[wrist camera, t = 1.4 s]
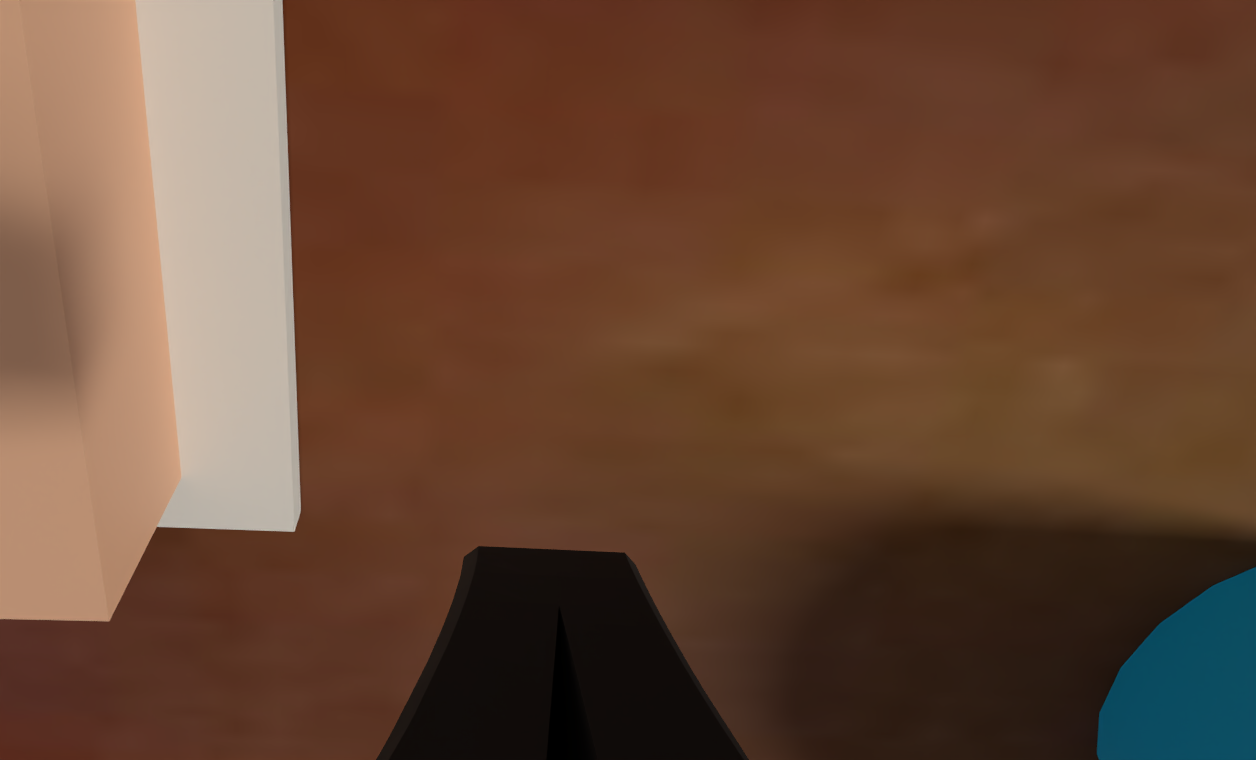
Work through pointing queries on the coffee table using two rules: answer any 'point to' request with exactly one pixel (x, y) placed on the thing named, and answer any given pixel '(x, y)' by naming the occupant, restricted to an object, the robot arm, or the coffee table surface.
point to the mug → (1189, 683)
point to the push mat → (225, 256)
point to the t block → (78, 313)
